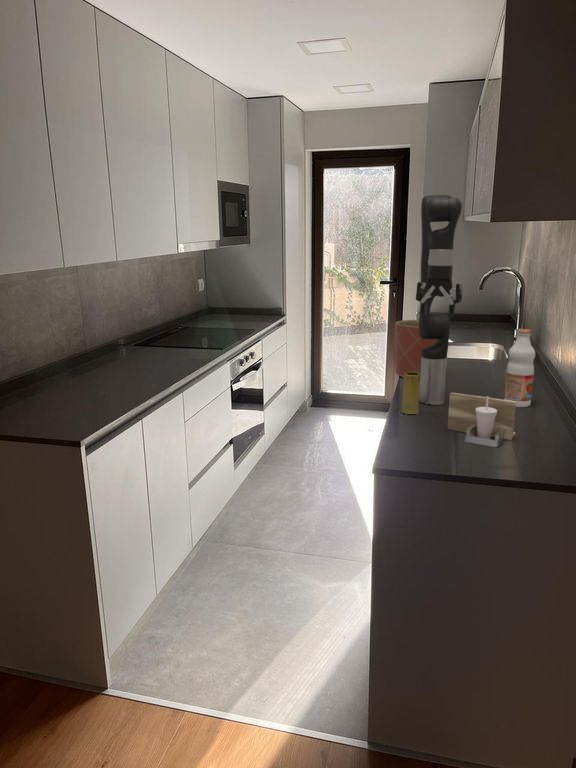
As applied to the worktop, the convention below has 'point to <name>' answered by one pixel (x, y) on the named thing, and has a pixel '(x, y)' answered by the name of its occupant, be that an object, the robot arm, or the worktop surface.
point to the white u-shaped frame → (474, 439)
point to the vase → (411, 393)
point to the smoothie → (485, 420)
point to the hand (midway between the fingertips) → (437, 315)
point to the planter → (409, 347)
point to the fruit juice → (520, 370)
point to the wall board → (465, 414)
